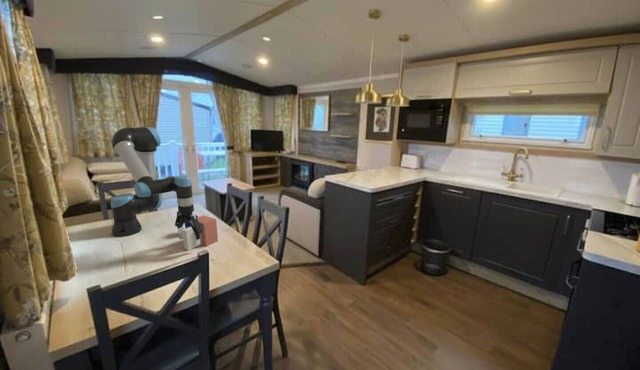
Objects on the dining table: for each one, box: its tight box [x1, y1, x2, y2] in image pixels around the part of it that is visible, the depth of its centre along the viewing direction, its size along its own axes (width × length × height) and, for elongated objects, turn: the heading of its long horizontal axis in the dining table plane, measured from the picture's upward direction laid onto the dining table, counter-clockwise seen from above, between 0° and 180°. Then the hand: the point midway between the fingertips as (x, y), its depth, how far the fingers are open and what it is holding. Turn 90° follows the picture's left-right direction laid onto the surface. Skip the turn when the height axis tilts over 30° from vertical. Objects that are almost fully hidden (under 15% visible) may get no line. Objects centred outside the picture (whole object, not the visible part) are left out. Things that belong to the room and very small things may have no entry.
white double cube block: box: [182, 225, 203, 251], centre depth 156 cm, size 4×15×11 cm, turn 149°
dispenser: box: [191, 214, 219, 247], centre depth 160 cm, size 11×9×14 cm
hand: (189, 241), depth 152 cm, fingers open, 13 cm apart
